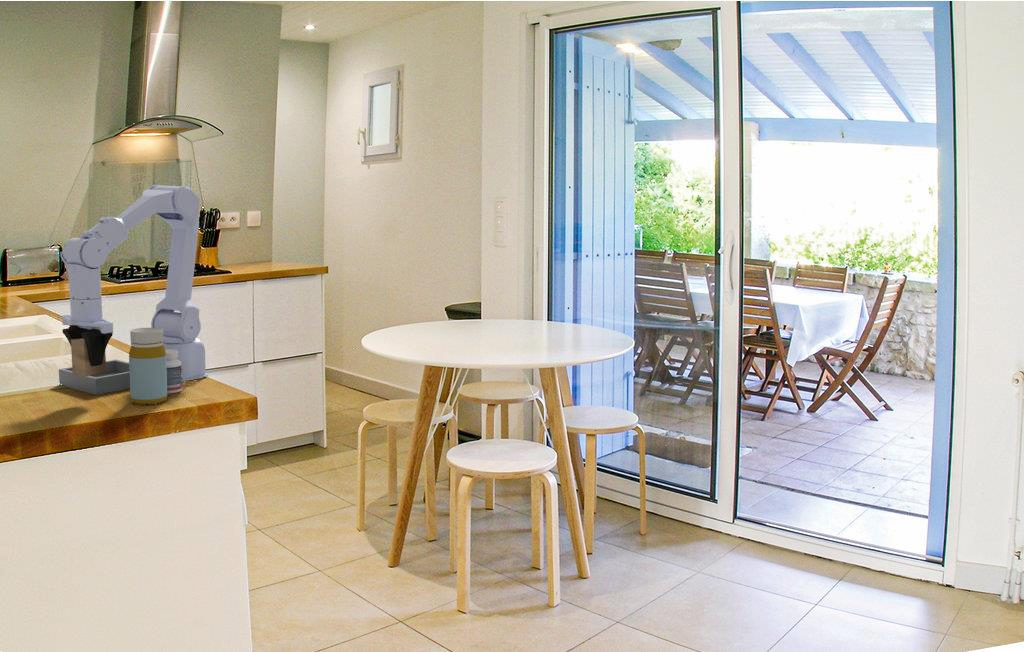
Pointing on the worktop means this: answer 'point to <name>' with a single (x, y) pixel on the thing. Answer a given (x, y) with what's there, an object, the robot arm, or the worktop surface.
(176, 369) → the pill bottle
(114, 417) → the worktop surface
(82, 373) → the walnut block
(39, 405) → the worktop surface
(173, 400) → the worktop surface
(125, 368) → the bin
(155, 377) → the bottle
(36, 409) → the worktop surface
